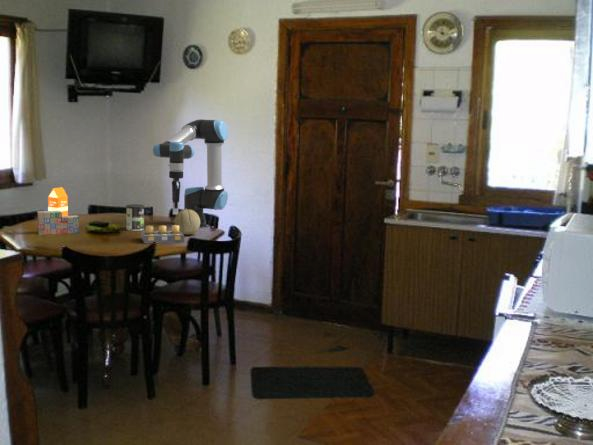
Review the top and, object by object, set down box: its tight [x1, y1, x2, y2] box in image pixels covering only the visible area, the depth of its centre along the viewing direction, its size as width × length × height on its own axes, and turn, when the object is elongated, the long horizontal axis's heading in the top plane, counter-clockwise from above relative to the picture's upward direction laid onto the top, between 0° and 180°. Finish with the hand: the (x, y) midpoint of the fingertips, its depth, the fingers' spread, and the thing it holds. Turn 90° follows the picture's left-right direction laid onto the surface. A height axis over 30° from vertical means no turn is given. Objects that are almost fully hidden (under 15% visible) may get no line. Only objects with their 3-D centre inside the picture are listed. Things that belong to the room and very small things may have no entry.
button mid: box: [158, 224, 167, 234], centre depth 385 cm, size 4×4×5 cm
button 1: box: [145, 225, 154, 234], centre depth 383 cm, size 4×4×5 cm
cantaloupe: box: [174, 208, 201, 236], centre depth 405 cm, size 15×15×15 cm
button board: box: [140, 230, 185, 244], centre depth 386 cm, size 21×14×4 cm
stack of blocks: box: [36, 210, 80, 236], centre depth 395 cm, size 21×6×12 cm, turn 114°
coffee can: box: [125, 204, 145, 232], centre depth 415 cm, size 10×10×14 cm
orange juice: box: [47, 187, 69, 216], centre depth 434 cm, size 8×9×20 cm
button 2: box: [171, 224, 179, 234], centre depth 388 cm, size 4×4×5 cm
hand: (175, 214), depth 386 cm, fingers closed
